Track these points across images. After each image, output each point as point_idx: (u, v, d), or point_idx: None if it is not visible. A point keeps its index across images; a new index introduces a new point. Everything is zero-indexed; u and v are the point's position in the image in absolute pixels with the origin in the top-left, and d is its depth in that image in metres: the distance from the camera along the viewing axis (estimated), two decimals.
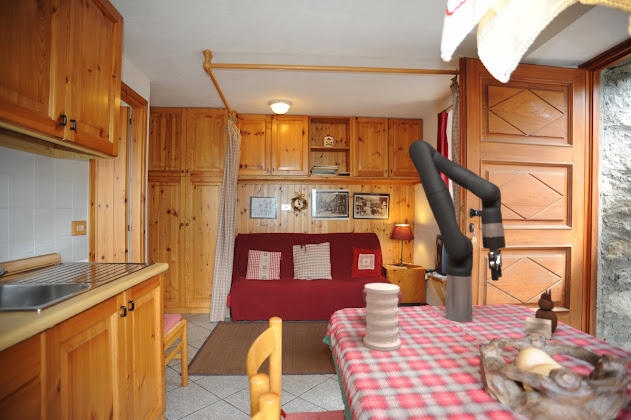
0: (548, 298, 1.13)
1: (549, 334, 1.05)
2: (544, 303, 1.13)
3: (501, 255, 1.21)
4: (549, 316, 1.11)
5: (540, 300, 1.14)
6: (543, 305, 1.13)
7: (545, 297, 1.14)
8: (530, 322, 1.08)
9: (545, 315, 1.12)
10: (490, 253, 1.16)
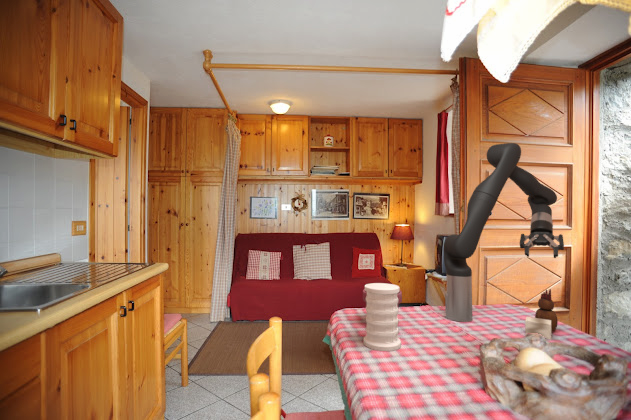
0: (548, 298, 1.13)
1: (549, 334, 1.05)
2: (544, 303, 1.13)
3: None
4: (549, 316, 1.11)
5: (540, 300, 1.14)
6: (543, 305, 1.13)
7: (545, 297, 1.14)
8: (530, 322, 1.08)
9: (545, 315, 1.12)
10: None
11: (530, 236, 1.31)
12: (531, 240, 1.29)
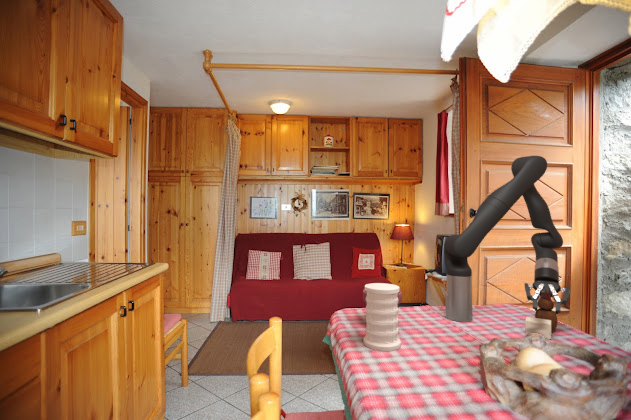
0: (548, 298, 1.13)
1: (549, 334, 1.05)
2: (544, 303, 1.13)
3: None
4: (549, 316, 1.11)
5: (540, 300, 1.14)
6: (543, 305, 1.13)
7: (545, 297, 1.14)
8: (530, 322, 1.08)
9: (545, 315, 1.12)
10: (569, 290, 1.14)
11: (535, 285, 1.20)
12: (538, 291, 1.17)
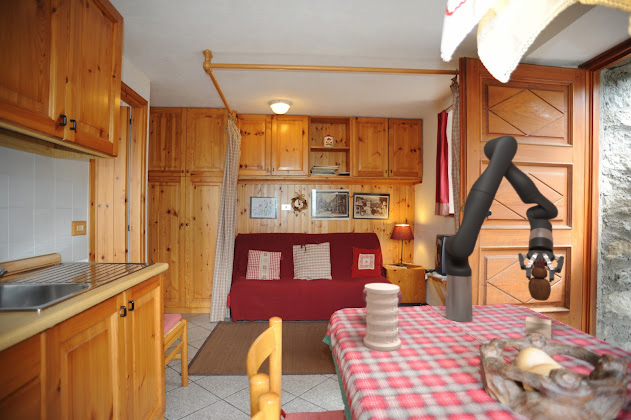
0: (541, 266, 1.11)
1: (549, 334, 1.05)
2: (538, 272, 1.11)
3: None
4: (542, 284, 1.09)
5: (533, 268, 1.12)
6: (537, 273, 1.11)
7: (538, 265, 1.12)
8: (530, 322, 1.08)
9: (538, 283, 1.10)
10: (563, 258, 1.12)
11: (529, 255, 1.18)
12: (532, 260, 1.15)
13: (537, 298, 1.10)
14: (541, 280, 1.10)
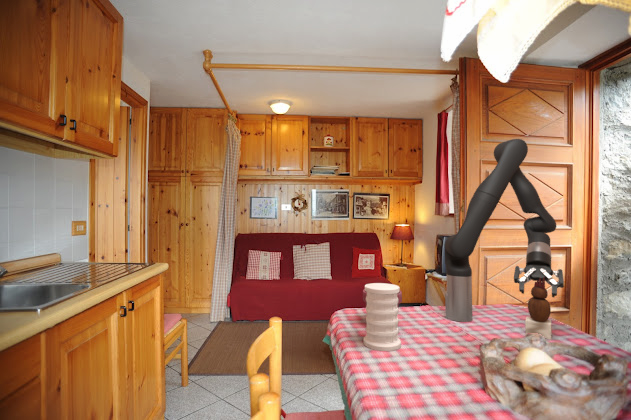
0: (541, 286, 1.08)
1: (549, 334, 1.05)
2: (537, 292, 1.08)
3: None
4: (541, 305, 1.07)
5: (533, 288, 1.10)
6: (536, 293, 1.08)
7: (539, 285, 1.09)
8: (530, 322, 1.08)
9: (537, 304, 1.07)
10: None
11: (526, 269, 1.16)
12: (527, 274, 1.13)
13: (536, 319, 1.08)
14: (540, 301, 1.07)
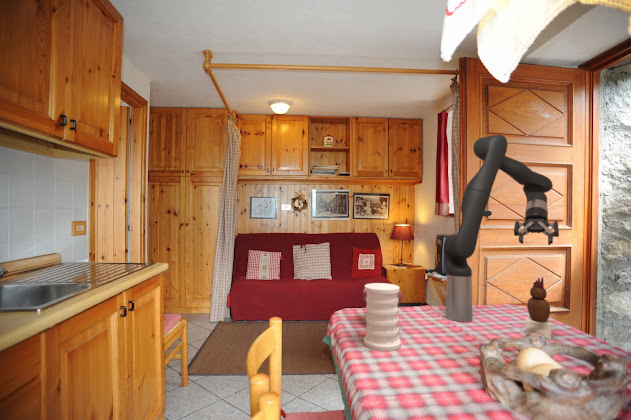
0: (540, 286, 1.09)
1: (549, 334, 1.05)
2: (536, 292, 1.08)
3: None
4: (541, 305, 1.07)
5: (532, 288, 1.10)
6: (535, 293, 1.08)
7: (537, 285, 1.10)
8: (530, 322, 1.08)
9: (537, 304, 1.07)
10: None
11: (525, 223, 1.28)
12: (525, 227, 1.25)
13: (536, 319, 1.08)
14: (540, 301, 1.07)
